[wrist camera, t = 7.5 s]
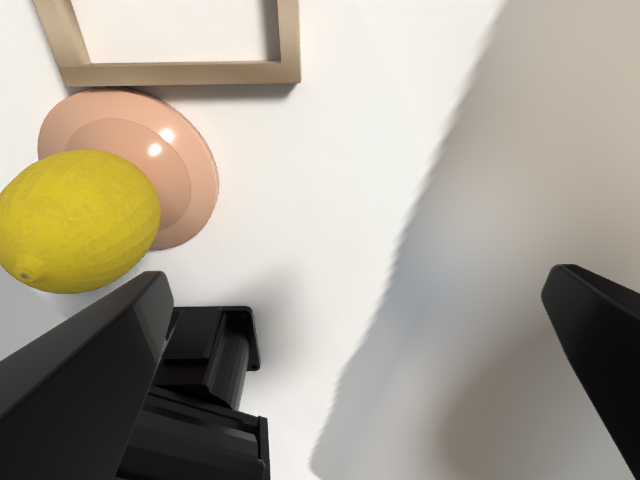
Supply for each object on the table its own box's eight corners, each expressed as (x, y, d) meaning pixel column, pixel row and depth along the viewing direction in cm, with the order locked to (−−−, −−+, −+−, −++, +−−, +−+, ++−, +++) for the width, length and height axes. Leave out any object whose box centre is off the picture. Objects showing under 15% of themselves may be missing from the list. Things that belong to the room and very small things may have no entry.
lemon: (67, 202, 19) (-66, 303, 13) (79, 108, 17) (-81, 172, 10) (168, 240, 21) (97, 349, 14) (194, 158, 18) (122, 244, 11)
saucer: (230, 241, 22) (227, 249, 21) (85, 243, 22) (76, 252, 21) (202, 84, 17) (196, 88, 16) (15, 87, 17) (0, 91, 16)
